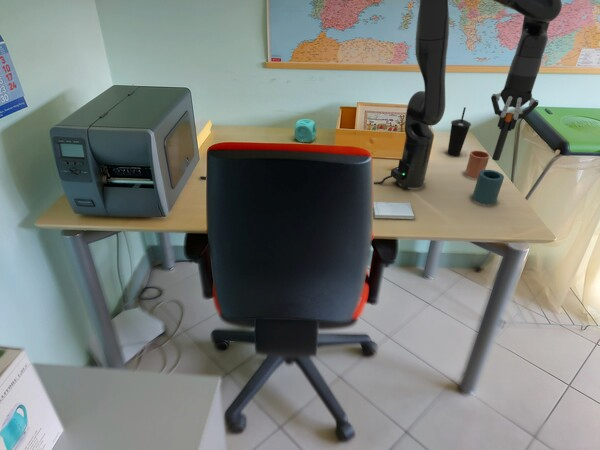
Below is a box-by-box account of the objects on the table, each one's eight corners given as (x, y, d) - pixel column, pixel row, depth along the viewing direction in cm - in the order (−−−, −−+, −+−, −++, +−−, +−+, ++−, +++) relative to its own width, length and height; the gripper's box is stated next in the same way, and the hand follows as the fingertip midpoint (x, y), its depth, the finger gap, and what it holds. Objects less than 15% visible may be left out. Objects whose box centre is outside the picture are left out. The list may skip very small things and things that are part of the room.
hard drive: (409, 202, 135) (372, 201, 136) (414, 215, 129) (375, 214, 129) (408, 206, 136) (371, 205, 137) (413, 220, 130) (374, 218, 130)
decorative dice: (315, 137, 185) (316, 120, 181) (311, 143, 179) (312, 126, 175) (299, 135, 187) (299, 118, 183) (294, 141, 181) (294, 124, 176)
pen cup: (473, 181, 152) (479, 159, 147) (461, 173, 157) (466, 152, 152) (486, 178, 154) (493, 156, 149) (474, 170, 159) (480, 149, 154)
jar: (482, 208, 136) (491, 181, 130) (467, 197, 142) (474, 171, 136) (500, 203, 138) (509, 177, 133) (484, 193, 144) (492, 168, 138)
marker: (495, 161, 131) (510, 115, 122) (490, 158, 132) (504, 113, 124) (500, 160, 131) (515, 114, 123) (495, 157, 133) (510, 112, 125)
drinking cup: (460, 150, 175) (472, 104, 163) (464, 158, 168) (477, 111, 157) (442, 149, 175) (453, 104, 164) (446, 157, 169) (457, 110, 158)
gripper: (496, 71, 116) (480, 129, 126) (549, 78, 111) (528, 137, 121) (498, 66, 122) (483, 121, 132) (550, 72, 117) (530, 129, 126)
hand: (505, 129), depth 126 cm, fingers closed on marker, 2 cm apart
